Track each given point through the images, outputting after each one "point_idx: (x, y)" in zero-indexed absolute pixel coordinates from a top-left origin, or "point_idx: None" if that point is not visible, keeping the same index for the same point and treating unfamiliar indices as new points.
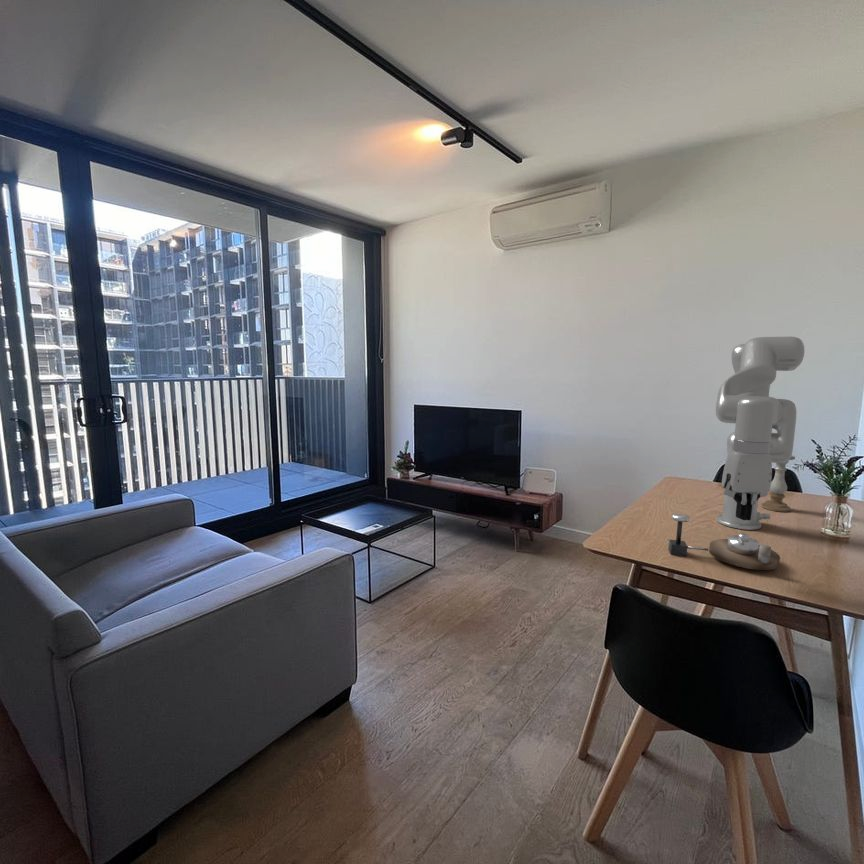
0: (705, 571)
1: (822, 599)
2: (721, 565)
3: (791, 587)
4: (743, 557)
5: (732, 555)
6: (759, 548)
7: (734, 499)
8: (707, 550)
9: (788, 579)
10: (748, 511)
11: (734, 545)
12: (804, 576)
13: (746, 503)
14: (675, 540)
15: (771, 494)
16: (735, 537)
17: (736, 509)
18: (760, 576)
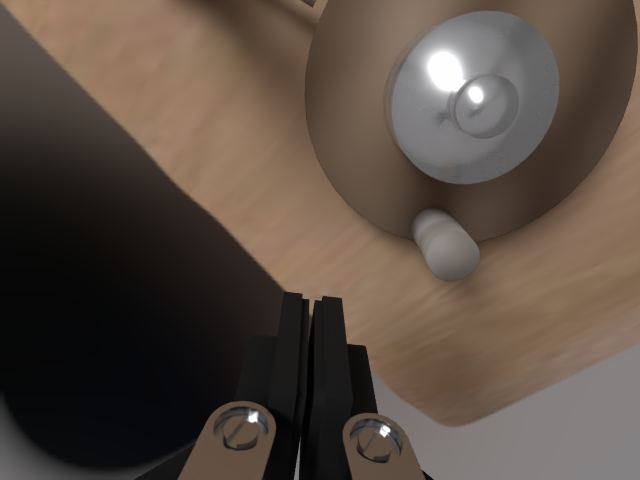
0: (187, 158)
1: (420, 386)
2: (304, 119)
3: (406, 319)
4: (378, 176)
5: (346, 144)
6: (429, 240)
7: (173, 460)
8: (309, 4)
9: None
10: (301, 441)
11: (389, 119)
12: (544, 266)
13: (312, 473)
14: None
15: None
16: (469, 51)
17: (245, 364)
18: (378, 237)
